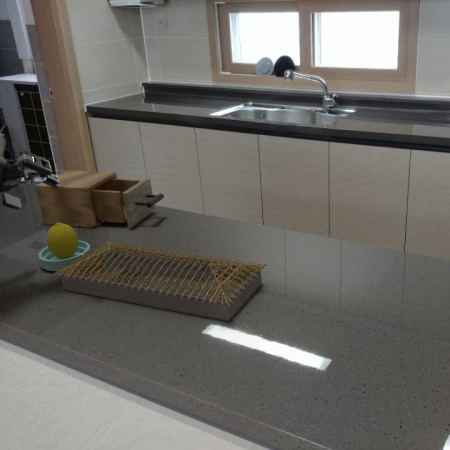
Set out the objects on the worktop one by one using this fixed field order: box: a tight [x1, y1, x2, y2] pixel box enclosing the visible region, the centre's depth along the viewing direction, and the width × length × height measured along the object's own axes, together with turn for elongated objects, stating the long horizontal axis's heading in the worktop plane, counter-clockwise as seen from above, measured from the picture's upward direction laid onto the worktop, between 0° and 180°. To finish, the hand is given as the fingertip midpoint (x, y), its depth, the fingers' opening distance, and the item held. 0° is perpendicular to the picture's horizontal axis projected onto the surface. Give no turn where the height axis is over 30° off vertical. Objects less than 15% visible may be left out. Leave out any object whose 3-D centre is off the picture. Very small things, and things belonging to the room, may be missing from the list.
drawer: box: [90, 177, 165, 227], centre depth 124 cm, size 17×10×8 cm, turn 76°
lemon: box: [46, 222, 79, 259], centre depth 105 cm, size 6×6×8 cm
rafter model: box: [52, 241, 268, 322], centre depth 95 cm, size 35×14×6 cm, turn 69°
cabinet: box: [34, 169, 118, 229], centre depth 127 cm, size 14×12×10 cm
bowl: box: [38, 239, 92, 272], centre depth 106 cm, size 9×9×2 cm
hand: (37, 193), depth 99 cm, fingers open, 8 cm apart
